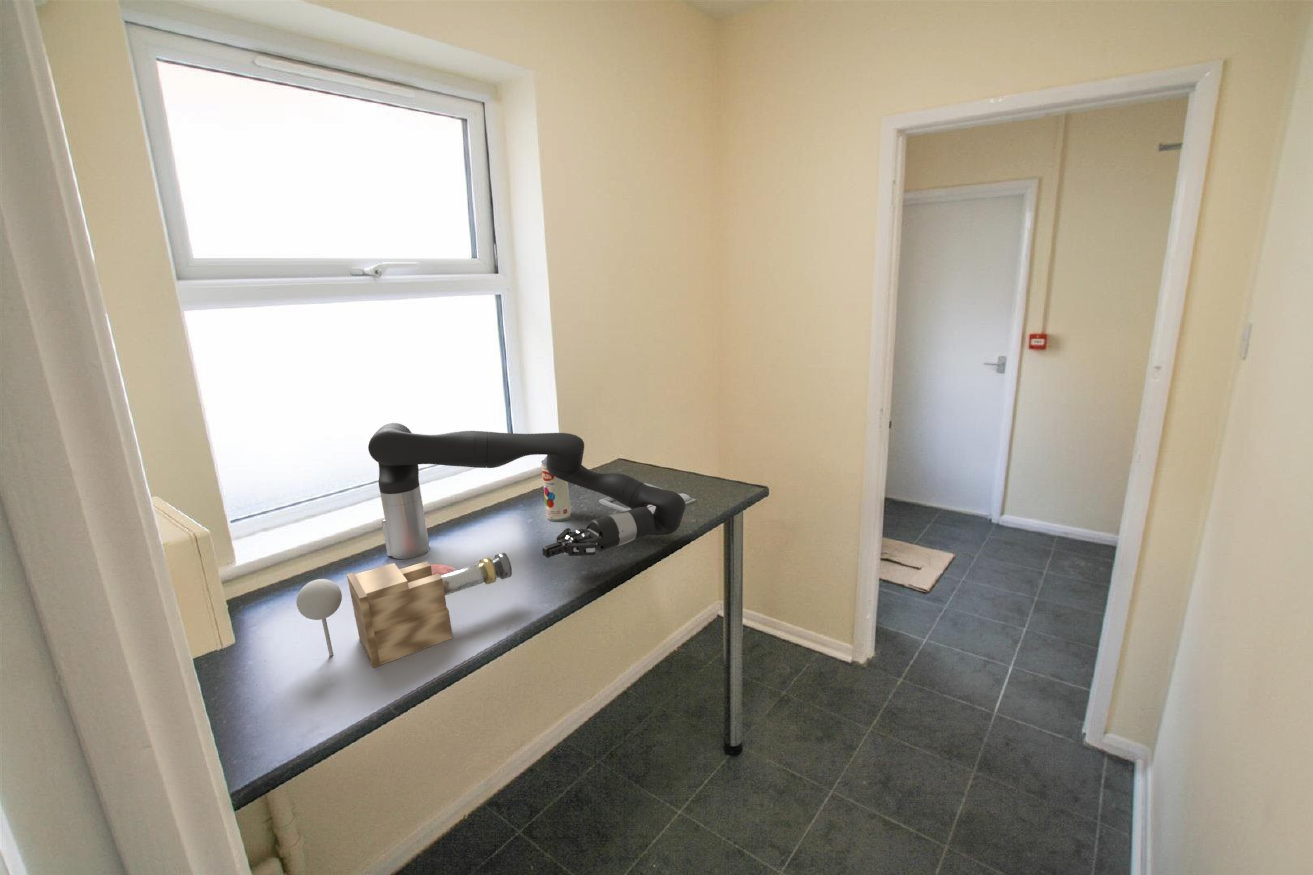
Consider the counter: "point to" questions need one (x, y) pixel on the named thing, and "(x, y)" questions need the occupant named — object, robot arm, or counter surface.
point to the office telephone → (651, 507)
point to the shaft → (477, 574)
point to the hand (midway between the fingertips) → (544, 552)
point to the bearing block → (399, 610)
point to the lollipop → (320, 603)
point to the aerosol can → (555, 496)
